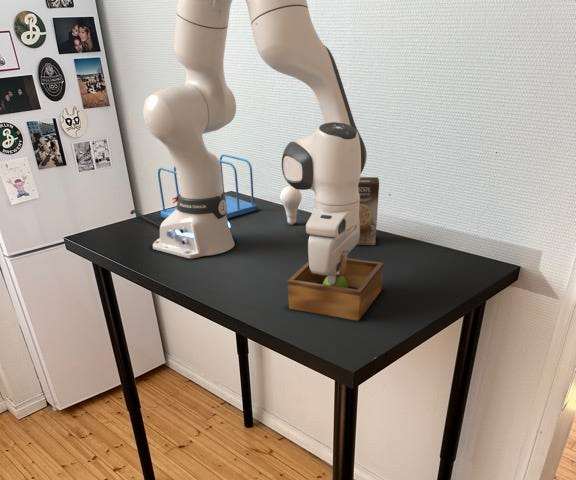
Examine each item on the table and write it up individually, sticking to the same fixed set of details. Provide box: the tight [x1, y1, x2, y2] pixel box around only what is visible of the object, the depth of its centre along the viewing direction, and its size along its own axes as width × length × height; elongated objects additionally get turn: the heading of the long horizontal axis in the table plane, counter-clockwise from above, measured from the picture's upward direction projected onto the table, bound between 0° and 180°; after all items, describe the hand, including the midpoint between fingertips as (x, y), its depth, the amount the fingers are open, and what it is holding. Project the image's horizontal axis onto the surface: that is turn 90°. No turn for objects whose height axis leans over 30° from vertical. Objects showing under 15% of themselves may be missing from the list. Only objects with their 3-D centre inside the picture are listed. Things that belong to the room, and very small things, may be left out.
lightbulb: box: [279, 185, 302, 226], centre depth 159 cm, size 6×6×11 cm
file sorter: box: [157, 153, 258, 220], centre depth 170 cm, size 25×17×15 cm
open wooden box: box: [286, 257, 385, 322], centre depth 118 cm, size 16×16×6 cm
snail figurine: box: [322, 250, 349, 288], centre depth 116 cm, size 5×6×12 cm
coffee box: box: [356, 176, 380, 246], centre depth 144 cm, size 9×6×16 cm
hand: (335, 278), depth 118 cm, fingers closed on snail figurine, 3 cm apart
